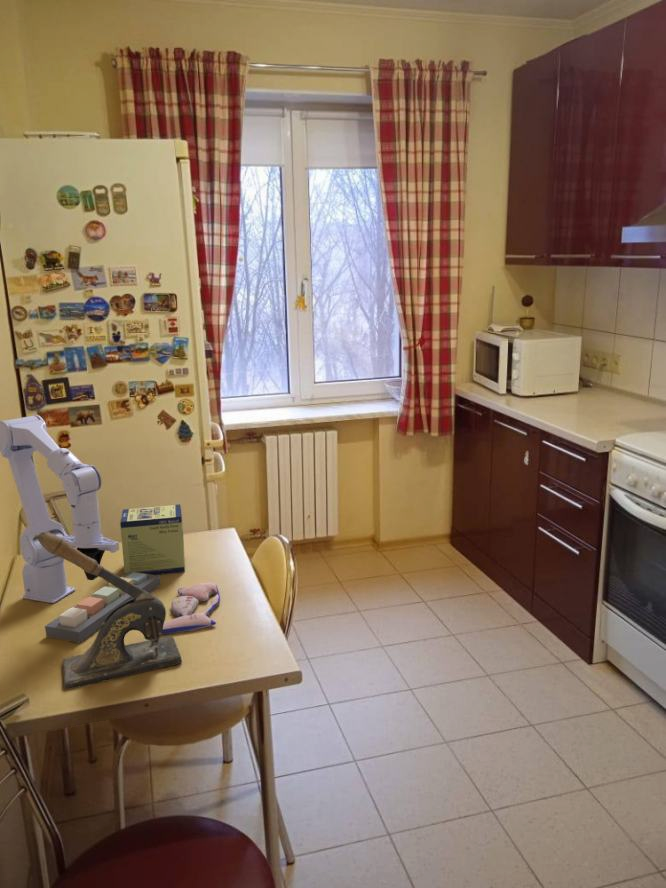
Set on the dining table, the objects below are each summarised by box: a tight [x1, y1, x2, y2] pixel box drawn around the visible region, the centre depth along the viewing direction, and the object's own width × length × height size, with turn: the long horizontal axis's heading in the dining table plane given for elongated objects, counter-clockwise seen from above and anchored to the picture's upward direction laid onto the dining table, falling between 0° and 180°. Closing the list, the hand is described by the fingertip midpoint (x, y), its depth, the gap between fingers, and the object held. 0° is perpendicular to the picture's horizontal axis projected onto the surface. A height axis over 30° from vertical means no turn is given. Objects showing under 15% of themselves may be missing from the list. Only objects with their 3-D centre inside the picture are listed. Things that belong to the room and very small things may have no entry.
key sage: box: [92, 586, 119, 605], centre depth 162 cm, size 4×4×3 cm
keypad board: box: [44, 571, 161, 644], centre depth 163 cm, size 9×30×2 cm, turn 160°
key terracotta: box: [76, 596, 104, 616], centre depth 157 cm, size 4×4×3 cm
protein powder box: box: [119, 504, 186, 576], centre depth 184 cm, size 10×16×16 cm
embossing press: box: [37, 532, 183, 690], centre depth 136 cm, size 11×24×30 cm, turn 109°
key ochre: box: [108, 576, 133, 595], centre depth 168 cm, size 4×4×3 cm
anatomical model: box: [163, 582, 221, 635], centre depth 161 cm, size 20×3×15 cm
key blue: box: [125, 572, 147, 585], centre depth 173 cm, size 4×4×3 cm
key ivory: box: [58, 606, 88, 628], centre depth 152 cm, size 4×4×3 cm
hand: (92, 578), depth 157 cm, fingers closed
